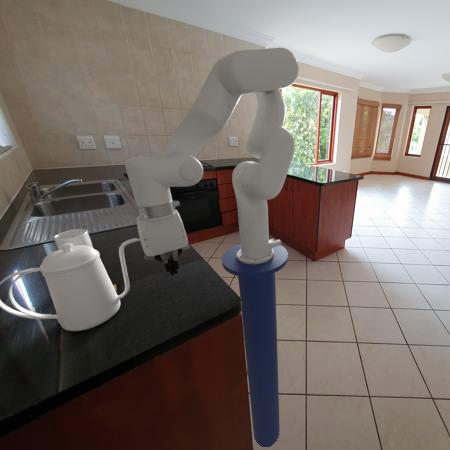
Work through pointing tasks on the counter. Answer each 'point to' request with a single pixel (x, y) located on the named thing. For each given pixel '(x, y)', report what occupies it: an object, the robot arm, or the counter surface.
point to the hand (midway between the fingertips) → (173, 272)
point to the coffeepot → (76, 287)
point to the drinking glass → (73, 238)
